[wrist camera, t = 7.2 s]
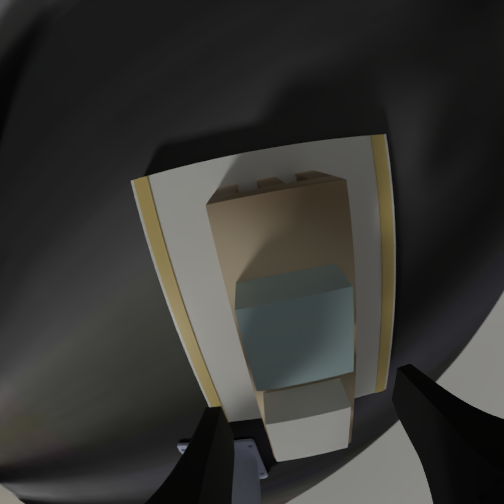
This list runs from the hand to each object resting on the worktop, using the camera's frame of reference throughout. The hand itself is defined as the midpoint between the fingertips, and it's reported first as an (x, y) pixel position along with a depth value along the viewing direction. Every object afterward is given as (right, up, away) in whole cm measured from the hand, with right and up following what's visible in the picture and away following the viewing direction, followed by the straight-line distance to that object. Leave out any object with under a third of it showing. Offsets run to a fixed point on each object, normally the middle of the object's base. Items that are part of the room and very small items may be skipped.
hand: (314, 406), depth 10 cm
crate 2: (0, -2, +3) cm, 4 cm away
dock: (0, +3, +9) cm, 9 cm away
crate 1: (-1, +4, +1) cm, 4 cm away
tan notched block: (0, +2, +7) cm, 7 cm away
